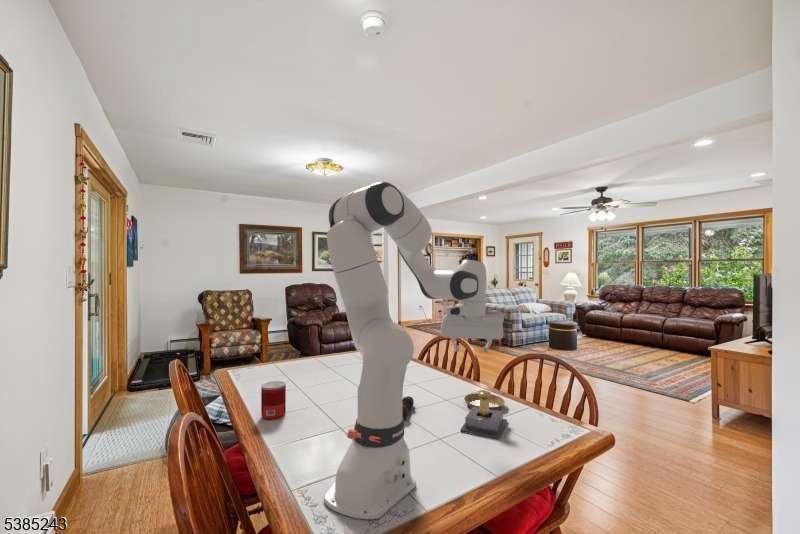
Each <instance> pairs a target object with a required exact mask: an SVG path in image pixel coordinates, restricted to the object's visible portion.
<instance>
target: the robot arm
mask: <svg viewBox="0 0 800 534" xmlns="http://www.w3.org/2000/svg"><path fill="white" fill-rule="evenodd" d="M328 223H329V230H328V231H327V234H326V244H327V250H328V255H329V259H330V265H331V268H332V270H333V274H334V277H335V280H336V283H337V287H338V289H339V293H340V295H341V298H342V301H343V305H344V311H345V314H346V318H347V323H348V327H349V332H350V335H351V339H352V341H353V345H354V347H355V349H356V350H357V352H359V354H360V355H361V356H362V368H361V376H360V381H359V384H358V386H357V418H356V420H355V424H354V428H353V429H352V428H350V429H348V430H347V433H346V434H347V435H346V436H347V439H352V441H351V443H350V445H349V447H348V449H347V451H346V452H345V455H344V456H343V458H342V460H341V461H340V464H339V466H338V467H337V470H336V474H335V481H334V482H333V483H332V485H331V487H330V488H329V489H328V491H327V492H326V493H325V495H324V497H323V502H324V504H325V505H326V507H328V508H329V509H331V510H333V511H334V512H337V513H339V514H342V515H345V516H347V517H351V518H353V519H358V520H359V519H360V520H375V519H376V520H378V519H379V518H381V517H382V516H383V515H384V514H386V513H387V512H388V511H389V510H391V509H392V507H393V506H396V504H397V503H398V502H399V501H401V500H402V499H404V497H405V496H406V495H408V493H410V492H411V491H412V490H414V489H415V488H416V486H417V484H416V479H415V478H414V477H413V476H412V473H411V472H412V471H411V456H410V448H409V447H408V445H407V442H406V440H405V438H404V437H405V429H406V425H405V421H404V418H403V417H402V407H403V398H404V397H403V395H404V394H403V389H404V382H405V377H406V373H407V367H408V365H409V363H410V362H411V361H412V359H413V355H414V351H415V350H414V349H415V346H414V342H413V339H412V337H411V336H410V334H409V332H407V329H405V328H404V326H403V325H400V324H399V323H396V322H395V321H393V319H392V318H391V314H390V308H389V304H388V303H389V302H388V301H389V300H388V287H387V283H386V280H385V277H384V274H383V271H382V268H381V264H380V262H379V259H378V255H377V253H376V249H375V247H374V245H373V243H372V232H375V231H378V230H381V229H382V228H383V229H384V230H385V232H386V233H387V234H388V236H389V237H390V238H391V240H393V242H394V243H395V245H396V246H397V250H398V253H399V254H400V256H401V258H402V260H403V261H404V263H405V264H406V266H407V267H408V269H409V270H410V271H411V273H412V274H413V276H414V277H415V279H416V281H417V282H418V286H419V288H420V291H421V294H423V296H425V297H426V298H427V299H430V300H448V301H450V300H451V301H458V303H455V304H452V305H448V306H446V307H445V309H444V313H445V314H444V315H443V316H442V319H441V323H440V335H441V337H443V338H450V340H451V343H452V345H453V351H454V352H460V346H459V345H458V344H456V341H457V339H479V340H481V339H482V340H484V339H485V340H486V342H487V343H486V345H485V346H482V352H483V353H484V354H488V353H489V348H490V346H491V345H492V344H493V340H502V339H503V338H504V325H503V323H504V321H505V316H504V313H503V312H502V311H500V310H491V309H487V298H486V291H487V285H488V284H487V283H488V280H487V276H488V275H487V269H486V268H487V267H486V265H485V263H484V262H482V261H480V260H477V259H475V260H474V259H463V260H462V261H461V263H460V264H459V265H458V266H456V267H454V268H452V269H443V268H442V269H440V268H435V267H434V266H432V265H431V264H430V262H429V261H428V260H427V258H426V257H425V255H424V254H423V252H422V251H423V250H424V249H425V248H426V247H427V246H428V245H429V243H430V240H431V239H432V238H431V237H432V233H433V231H432V227H431V224H430V223H429V221H428V219H427V218H426V217H425V215H424V214H423V213H422V211H421V210H420V209H419V207H417V205H416V204H415V203H414V202H413V201H412V200H411V199H410V198H409V197H408V196H407V195H406V194H404V192H402V191H401V190H399V188H398V187H396V186H395V185H394V184H392V183H390V182H388V181H379V182H375V183H372V184H370V185H368V186H365V187H362V188H359V189H355V190H353V191H351V192H349V193H348V194H346V195H344V196H342V197H340V198H338V199H336V201H334V203H332V205H331V206H330V207H329V211H328Z"/></svg>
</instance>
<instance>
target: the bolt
mask: <svg viewBox="0 0 800 534" xmlns="http://www.w3.org/2000/svg"><path fill="white" fill-rule="evenodd" d="M414 405H415V402H414V398H413V397H412V396H404V397H403V407H402V417H403V418H404V422H406V420H407V419H408V416H409V415H410V411H412V408H413V407H414ZM408 410H410V411H408Z"/></svg>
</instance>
